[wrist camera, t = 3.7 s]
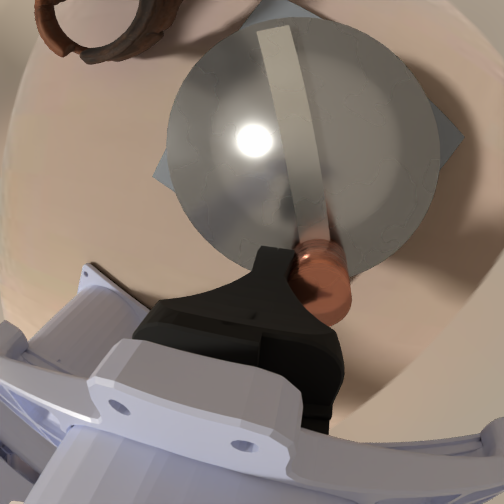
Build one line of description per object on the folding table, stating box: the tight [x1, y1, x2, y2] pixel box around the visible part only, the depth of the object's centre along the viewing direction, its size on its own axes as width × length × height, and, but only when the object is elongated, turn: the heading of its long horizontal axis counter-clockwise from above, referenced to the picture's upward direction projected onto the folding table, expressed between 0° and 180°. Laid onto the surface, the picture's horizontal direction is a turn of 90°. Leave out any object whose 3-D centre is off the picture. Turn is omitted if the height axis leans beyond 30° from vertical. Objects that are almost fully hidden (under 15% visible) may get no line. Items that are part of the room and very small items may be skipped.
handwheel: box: [166, 17, 440, 327], centre depth 10 cm, size 11×11×6 cm
